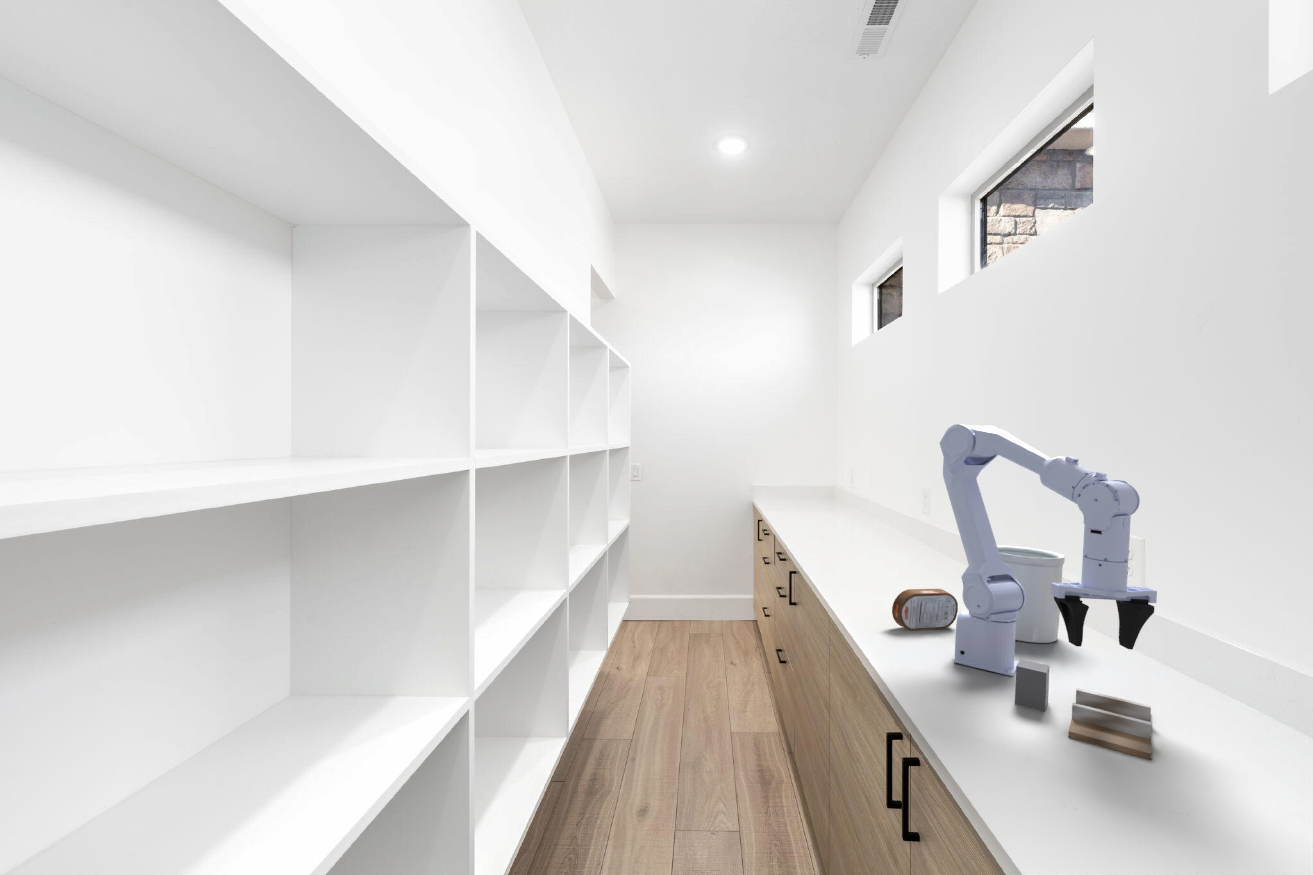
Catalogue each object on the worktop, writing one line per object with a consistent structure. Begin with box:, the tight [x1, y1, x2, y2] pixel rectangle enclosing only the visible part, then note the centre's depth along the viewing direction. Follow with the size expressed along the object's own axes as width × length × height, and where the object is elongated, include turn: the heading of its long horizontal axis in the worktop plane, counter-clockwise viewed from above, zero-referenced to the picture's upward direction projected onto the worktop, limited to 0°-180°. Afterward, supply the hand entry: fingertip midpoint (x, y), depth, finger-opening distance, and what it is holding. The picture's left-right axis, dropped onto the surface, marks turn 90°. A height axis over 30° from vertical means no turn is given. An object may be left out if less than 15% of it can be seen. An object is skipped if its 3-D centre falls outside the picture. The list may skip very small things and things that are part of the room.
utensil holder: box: [987, 544, 1066, 644], centre depth 132 cm, size 15×15×18 cm
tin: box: [891, 588, 959, 631], centre depth 133 cm, size 15×3×8 cm, turn 105°
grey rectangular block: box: [1014, 658, 1051, 713], centre depth 97 cm, size 4×4×6 cm
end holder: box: [1067, 687, 1153, 761], centre depth 90 cm, size 9×18×3 cm, turn 142°
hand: (1100, 645), depth 96 cm, fingers open, 7 cm apart
